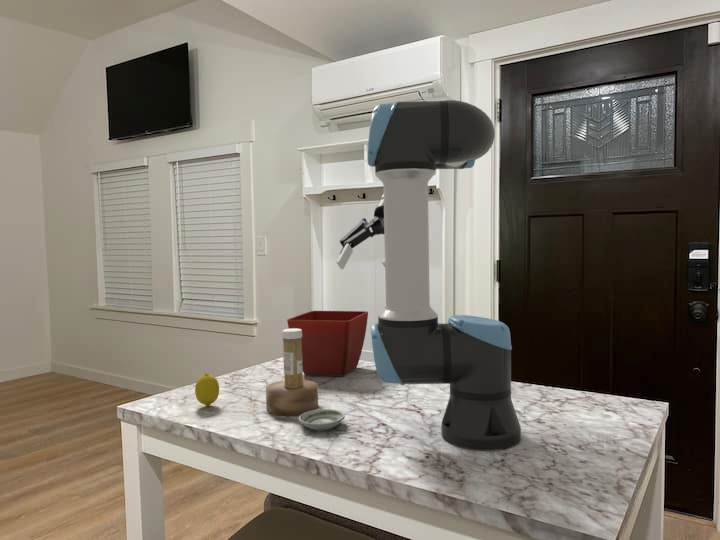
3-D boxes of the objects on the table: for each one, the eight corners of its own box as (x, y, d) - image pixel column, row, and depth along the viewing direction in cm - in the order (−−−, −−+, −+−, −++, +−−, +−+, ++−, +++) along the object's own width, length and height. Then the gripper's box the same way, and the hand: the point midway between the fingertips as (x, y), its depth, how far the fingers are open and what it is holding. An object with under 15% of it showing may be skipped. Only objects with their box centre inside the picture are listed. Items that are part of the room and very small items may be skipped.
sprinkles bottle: (306, 387, 123) (305, 329, 122) (288, 390, 121) (286, 331, 120) (298, 382, 127) (297, 327, 126) (280, 385, 125) (279, 329, 124)
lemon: (213, 410, 123) (211, 376, 123) (191, 409, 124) (189, 376, 124) (223, 403, 129) (222, 370, 128) (202, 402, 130) (201, 370, 129)
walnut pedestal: (328, 404, 126) (328, 383, 126) (294, 419, 116) (293, 396, 116) (290, 397, 133) (290, 377, 132) (255, 410, 123) (254, 388, 123)
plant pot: (287, 377, 153) (285, 318, 152) (313, 362, 171) (312, 310, 170) (350, 381, 147) (348, 320, 146) (370, 365, 165) (369, 311, 164)
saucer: (331, 416, 118) (330, 405, 118) (353, 428, 110) (353, 417, 110) (291, 425, 113) (290, 414, 113) (311, 439, 105) (311, 427, 105)
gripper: (438, 215, 138) (411, 276, 127) (359, 219, 152) (328, 274, 141) (428, 193, 134) (399, 255, 122) (348, 199, 148) (315, 255, 136)
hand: (361, 265), depth 132 cm, fingers open, 13 cm apart
